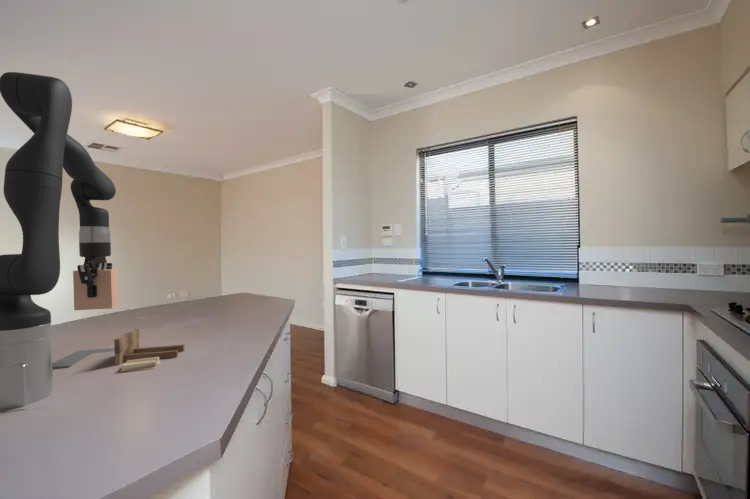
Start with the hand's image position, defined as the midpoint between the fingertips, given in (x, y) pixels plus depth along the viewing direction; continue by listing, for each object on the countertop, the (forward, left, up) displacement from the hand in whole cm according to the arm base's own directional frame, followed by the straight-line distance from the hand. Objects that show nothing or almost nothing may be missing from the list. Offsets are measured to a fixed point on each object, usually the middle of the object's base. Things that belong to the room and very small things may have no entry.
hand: (96, 296), depth 103 cm
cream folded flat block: (-16, -18, -20) cm, 31 cm away
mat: (0, +2, -19) cm, 19 cm away
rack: (-6, -18, -19) cm, 27 cm away
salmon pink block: (0, 0, -4) cm, 4 cm away
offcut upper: (-16, -18, -19) cm, 30 cm away
